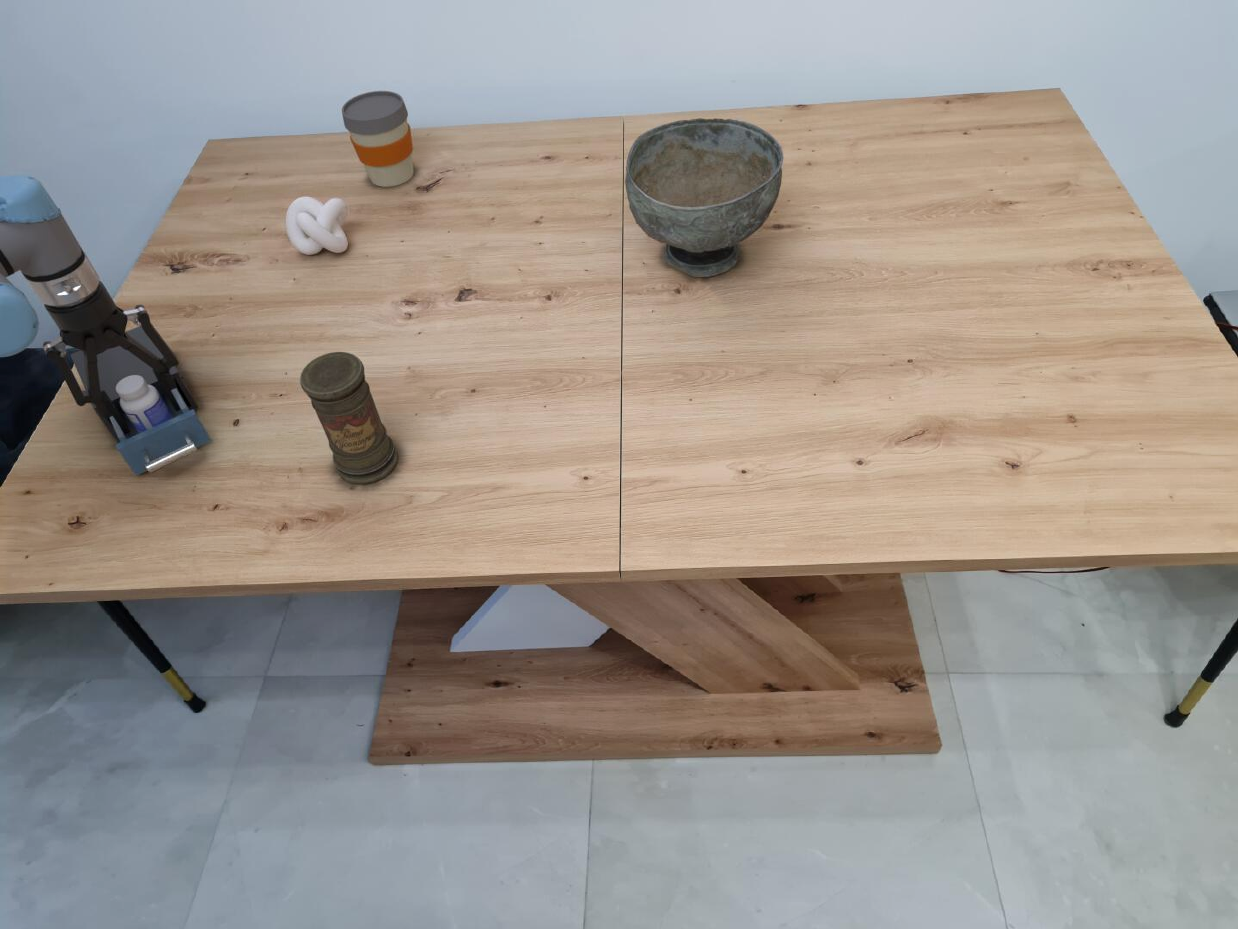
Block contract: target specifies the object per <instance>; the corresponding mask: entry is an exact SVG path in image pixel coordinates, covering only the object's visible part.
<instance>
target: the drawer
mask: <svg viewBox="0 0 1238 929" xmlns="http://www.w3.org/2000/svg"><path fill="white" fill-rule="evenodd" d="M155 388H156V389H157V391H158V392H159V394H160V395H161V397H162V398H163V400H164V402H165V403H166V405H167V406H168V408H169V409H170V411H171V413H172V414H173V416H174V417H175V418H173V419H170V420H168V421H166V422H164V423H161V424H159V425H157V426H155V427H153V428H150V429H148V430H146V431H144V432H142V433H138V431H137V430H136V428H135V427H134V426H133V424H132V423H131V421H130V420H129V418H128V417H127V415H126V414H125V412H124V411H123V409H122V408H121V406H120V402H119V403H117V404H115V407H116V408H117V410H118V411H119V413H120V414H121V416H122V417H123V419H124V420H125V422H126V424H127V426H128V428H129V431H130V432H129V433H127V434H124V432H123V431H122V429H121V428H120V426H119V425H118V423H117V422H116V420H115V419H114V417H113V416H111V417H109V418H110V420H111V422H112V424H113V427H114V429H115V431H116V434H117V436H118V438H119V439H120V441H121V442H119V443H117V442H116V443H115V444H114V446H115V448H116V449H117V451H118V452H119V454H120V455H121V457H122V458H123V460H124V461H125V462H126V463H127V465H128V467H129V468H130V470H131V471H132V472H133V474H134V475H135V476H139V475H141V474H143V473H145V472H148V473H152V472H155V471H156V470H159V469H161V468H162V467H165V466H168V465H170V464H172V463H174V462H175V461H178V460H180V459H182V458H185V457H187V456H188V455H190V454H193V453H195V452H197V451H198V448H199V447H201V446H204V445H206V444H207V443H209V442H211V441H212V439H211V436H210V435H209V434H208V431H207V430H206V428H205V426H204V424H202V421H201V420H200V418H199V417H198V415H197V413H196V412H195V409H194V410H193V409H192V410H189V409H188V407H187V405H186V403H185V401H184V399H183V397H182V396H181V394H180V392H179V390H178V388H175V389H173V390H171V392H172V393H173V395H174V397H175V399H176V401H177V403H178V405H179V407H180V408H181V410H179V411H177V412H176V410H175V408H174V407H173V405H172V403H171V402H170V400H169V398H168V397H167V395H166V393H165V392H164V390H163V388H162V387H161V385H158V386H156V387H155Z"/></svg>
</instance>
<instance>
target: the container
mask: <svg viewBox="0 0 1238 929" xmlns="http://www.w3.org/2000/svg"><path fill="white" fill-rule="evenodd" d="M299 384H300V387H301V389H302V391H303V392H304V393H305V394H306V395H307V397H308V398H309V399H310V403H311V406H312V408H313V409H314V411H315V414H316V416H317V418H318V420H319V423H320V425H321V427H322V429H323V432H324V434H325V436H326V438H327V441H328V446H329V449H330V451H331V452H332V462H333V463H334V468H335V470H336V473H337V474H338V475H339V477H340V478H341V479H343V481H346V482H347V483H349V484H353V485H359V486H360V485H362V486H363V485H369V484H374V483H376V482H379V481H381V480H383V479H384V478H386V477H388V476H389V475H390V474H391V473H392V471H393V470H394V469H395V467H396V466H397V463H398V457H399V456H398V450H397V448H396V446H395V444H394V441H393V439H392V438H391V437H390V436H389V435H388V432H387V428H386V426H385V425H384V424H383V422H382V419H381V417H380V414H379V411H378V409H377V406H376V403H375V401H374V397H373V395H372V393H371V388H370V385H369V383H368V381H366V374H365V366H364V364H363V362H362V361H361V359H360V358H359V357H358V356H357V355H355V354H353V353H350V352H346V351H333V352H329V353H325V354H321V355H319V356H318V357H315V358H314V359H312V360H311V361H310V362H308V363H307V364H306V365H305V367H304V368H303V369H302V371H301V373H300V378H299Z"/></svg>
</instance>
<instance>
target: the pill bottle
mask: <svg viewBox="0 0 1238 929" xmlns="http://www.w3.org/2000/svg"><path fill="white" fill-rule="evenodd" d="M116 391H117V393H118V395H119V397H120V398H121V399H120V406H121V408H122V409H123V411H124V412H125V414H126V415H127V417H128V418H129V420H130V421H131V423H132V424H133V426H134V427H135V428H136V430H137V431H138V433H142V432H144V431H146V430H148V429H150V428H153V427H155V426H157V425H159V424H161V423H164V422H166V421H168V420H170V419H173V418H175V417H174V416H173V414H172V413H171V411H170V409H169V408H168V406H167V405H166V403H165V402H164V400H163V398H162V397H161V395H160V394H159V392H158V391H157V389H156V388H155V387H153V386H152V385H148V384H147V383H146V381H145V380H144V379H143V377H141V376H139V375H132V376H128V377H126V378H124V379H122V380H121V381H120V382H119V383H118V384H117V386H116Z"/></svg>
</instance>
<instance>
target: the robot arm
mask: <svg viewBox="0 0 1238 929" xmlns="http://www.w3.org/2000/svg"><path fill="white" fill-rule="evenodd" d="M19 271H20V272H21V274H22V276H23V277H24V278H25V280H26V282H27V283H28V284H29V286H30V287H31V289H32V290H33V292H34V294H35V295H36V297H37V298H38V299H39V301H40V302H41V303H42V304H43V306H44V308H45V310H46V311H47V314H48V315H49V316H50V317H51V319H52V321H53V322H54V324H55V325H56V327H57V329H59V337H57V338H56V339H55V340H53V341H50V340H48V341H44V342H43V344H42V347H43V350H44V352H45V356H47V358H48V359H49V360H50V361H52V362H53V363H54V364H55V365H56V366H57V368H58V369H59V372H60V373H61V375H62V378H63V380H64V381H65V384H66V385H67V387H68V389H69V391H70V393H71V396H72V398H73V399H74V400H75V401H74V402H75V403H76V405H77V406H78V407H84V406H85V405H86V404H91V403H93V404H94V405H95V406H96V407H97V409H98V410H99V411H100V413H101V414H102V416H103V417H104V418H106V419H107V418H109V417H111V416H113V417H114V419H115V420H116V422H117V423H118V425H119V426H120V428H121V429H122V431H123V432H124V434H127V433H129V432H130V431H129V428H128V426H127V424H126V422H125V420H124V419H123V417H122V416H121V414H120V413H119V411H118V410H117V408H116V407H115V405H114V404H113V402H112V401H111V399H110V398H109V396H108V395H107V393H106V392H105V390H103V391H101V390H100V382H99V374H98V366H97V355H98V354H100V353H103V352H104V351H106V350H107V349H110V348H115V347H117V346H121V347H122V348H123V349H125V350H128V351H129V352H130V353H132V354H133V355H135V356H136V357H137V358H139V359H140V360H142V361H143V362H144V363H146V364H147V365H148V366H150V367H151V368H153V372H154V374H155V376H156V378H157V380H158V382H159V383H160V385H161V387H162V388H163V390H164V392H165V393H166V395H167V397H168V398H169V400H170V402H171V403H172V405H173V407H174V408H175V410H176V412H177V411H179V410H181V408H180V407H179V405H178V403H177V401H176V399H175V397H174V395H173V393H172V392H171V390H173V389H175V388H177V384H176V382H175V381H174V379H173V377H172V375H171V374H170V372H169V371H170V368H171V367H173V366H176V367H177V366H178V365H179V363H180V362H179V359H178V357H176V354H175V353H174V351H173V350H172V349H171V347H170V346H169V345H168V344H167V342H166V341H165V340H164V338H163V337H162V335H161V334H160V333H159V331H158V330H157V329H156V327H154V325H153V324H152V323H151V319H150V315H149V313H148V311H147V309H146V307H145V306H144V305H143V304H137V305H135V307H134V309H128V310H124V309H123V308H120V307H119V306H117V304H116V303H115V301H114V300H113V298H112V296H111V295H110V292H109V291H108V289H107V288H106V286H105V285H104V283H103V282H102V281H101V279H100V276H99V274H98V273H97V271H96V269H95V267H94V266H93V264H92V262H91V260H90V259H89V257H88V256H87V254H86V252H84V250H83V248H82V246H81V245H80V242H79V241H78V240H77V238H76V236H75V235H74V233H73V230H72V229H71V228H70V226H69V224H68V222H67V221H66V219H65V217H64V215H63V214H62V211H61V209H60V207H58V206H57V204H56V203H55V201H54V200H53V198H52V197H51V196H50V194H49V193H48V190H46V188H45V187H44V185H43V184H42V182H41V181H40V180H39V179H37V178H35V177H33V176H30V175H27V174H8V175H4V176H1V177H0V358H6V357H11V356H14V355H17V354H19V353H22V352H23V351H24V350H26V349H28V348H29V347H30V346H31V345H32V343H33V342H34V340H35V339H36V337H37V334H38V332H39V325H40V321H39V317H38V314H37V312H36V310H35V308H34V307H33V305H32V304H31V302H30V301H29V300H28V297H27V296H26V295H25V292H23V291H22V290H21V289H19V288H18V287H16V286H15V285H14V284H13V282H11V280H9V279H8V277H10V276H12V275H14V274H15V273H17V272H19ZM129 321H130V322H132V323H133V324H134V325H135V326H137V327H139V326H141V327H142V328H143V330H144V332H145V333H146V335H147V336H148V337H149V338H150V340H151V341H152V342H153V344H154V345H155V346H156V347H157V349H158V350H159V351H160V353H161V354H162V355H163V356H164V357H163V358H162V359H160V358H159V357H157V356H156V355H155V354H153V353H152V352H151V351H149V350H148V349H147V348H145V347H144V346H143V345H141V344H140V343H139V342H137V341H136V340H134V339H133V338H132V337H130V336H129V335H128V334H127V333H126V329H127V324H128V322H129ZM67 346H68V347H70V348H73V349H76V350H78V351H80V350H81V351H82V352H83V357H84V365H85V372H86V380H87V387H88V389H87V390H82V389H81V386H80V384H79V382H78V380H77V378H76V376H75V374H74V372H73V370H72V368H71V366H70V364H69V362H68V359H67V358H66V355H67V350H66V347H67Z"/></svg>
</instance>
